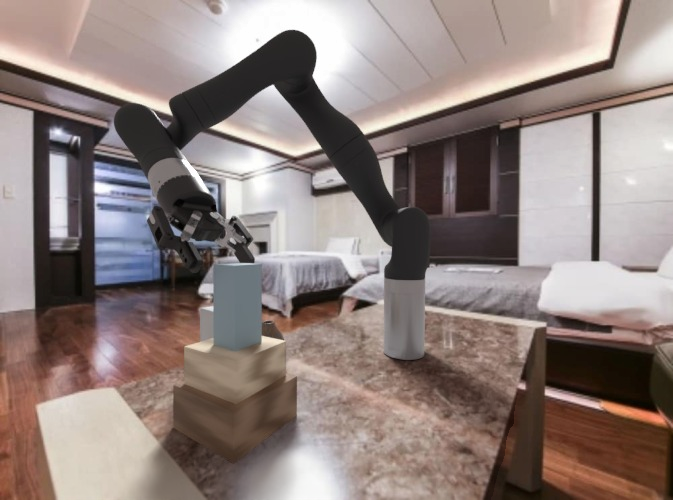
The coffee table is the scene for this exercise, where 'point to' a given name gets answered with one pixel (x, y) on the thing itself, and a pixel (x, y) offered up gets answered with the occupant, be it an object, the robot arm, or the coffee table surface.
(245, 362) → the tower top
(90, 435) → the coffee table surface
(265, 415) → the tower base
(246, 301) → the block
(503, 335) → the coffee table surface
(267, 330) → the vase
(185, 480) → the coffee table surface
